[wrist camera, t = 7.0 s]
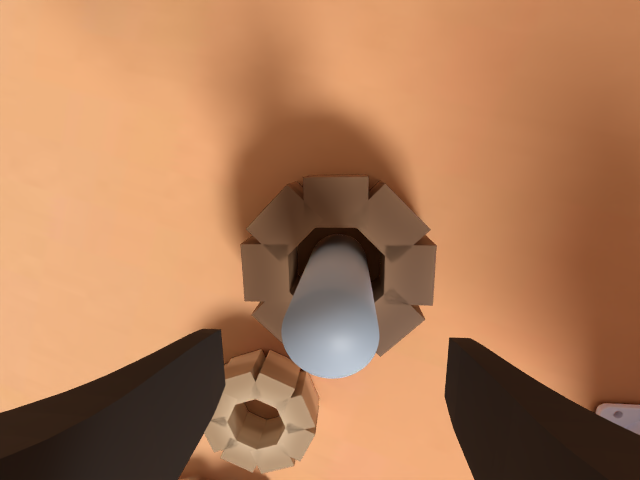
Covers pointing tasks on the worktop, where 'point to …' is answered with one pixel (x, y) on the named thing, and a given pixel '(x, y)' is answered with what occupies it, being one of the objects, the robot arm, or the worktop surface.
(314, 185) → the brown segmented ring
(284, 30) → the worktop surface
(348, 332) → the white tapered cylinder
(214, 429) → the beige notched ring
